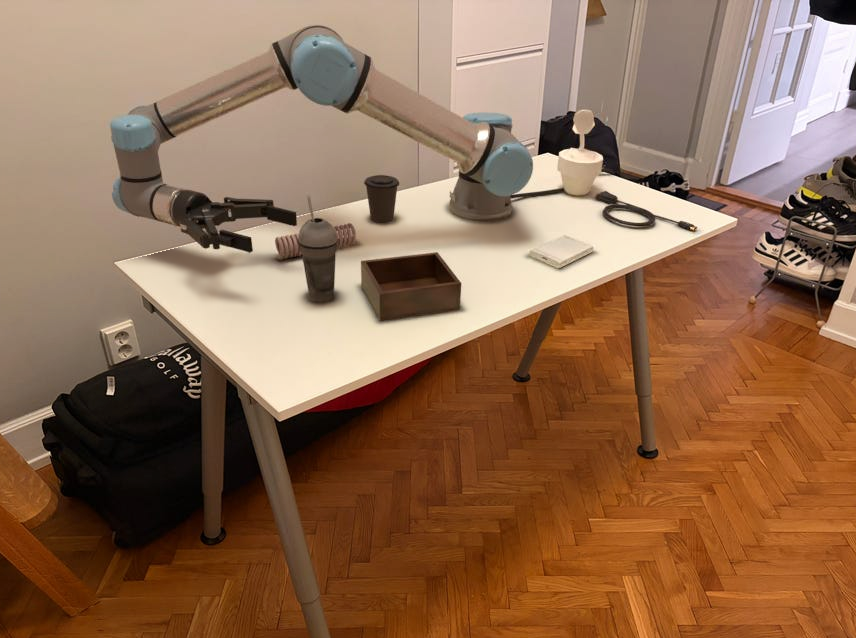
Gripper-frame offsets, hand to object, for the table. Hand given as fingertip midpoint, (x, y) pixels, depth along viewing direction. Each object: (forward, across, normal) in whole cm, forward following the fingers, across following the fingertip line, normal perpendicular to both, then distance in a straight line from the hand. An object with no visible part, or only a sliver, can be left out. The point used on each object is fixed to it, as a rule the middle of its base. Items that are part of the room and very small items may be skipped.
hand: (274, 231), depth 134 cm
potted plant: (+36, -81, -11) cm, 90 cm away
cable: (+54, -71, -11) cm, 89 cm away
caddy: (+25, -8, -11) cm, 28 cm away
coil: (-2, -16, -11) cm, 20 cm away
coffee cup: (+1, -38, -11) cm, 40 cm away
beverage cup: (+10, 0, -11) cm, 15 cm away
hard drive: (+44, -42, -11) cm, 62 cm away
